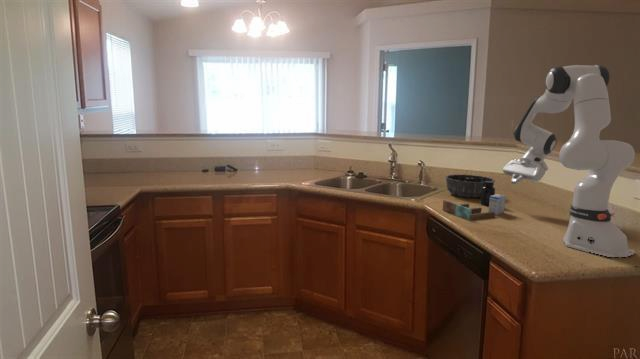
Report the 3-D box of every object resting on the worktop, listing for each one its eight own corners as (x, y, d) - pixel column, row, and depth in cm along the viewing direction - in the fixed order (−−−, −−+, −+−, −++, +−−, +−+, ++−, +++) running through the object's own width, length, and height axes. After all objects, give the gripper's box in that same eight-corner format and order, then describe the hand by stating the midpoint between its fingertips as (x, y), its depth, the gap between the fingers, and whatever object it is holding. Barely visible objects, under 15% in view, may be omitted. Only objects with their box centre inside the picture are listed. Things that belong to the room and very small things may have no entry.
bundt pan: (457, 188, 260) (458, 172, 259) (500, 195, 242) (502, 178, 241) (435, 194, 242) (437, 177, 240) (481, 202, 224) (482, 184, 222)
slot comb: (494, 216, 196) (495, 206, 195) (468, 220, 190) (469, 209, 189) (467, 207, 212) (468, 198, 211) (442, 210, 206) (443, 200, 205)
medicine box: (495, 211, 207) (496, 193, 205) (504, 212, 204) (506, 195, 202) (487, 213, 201) (489, 195, 200) (497, 215, 198) (498, 197, 197)
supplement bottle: (496, 204, 220) (498, 181, 217) (490, 206, 215) (493, 183, 213) (483, 202, 224) (485, 180, 222) (477, 204, 219) (479, 181, 217)
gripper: (510, 154, 214) (493, 174, 212) (545, 160, 195) (528, 182, 193) (515, 163, 216) (499, 183, 214) (551, 169, 198) (534, 191, 196)
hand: (513, 182), depth 204 cm, fingers closed
